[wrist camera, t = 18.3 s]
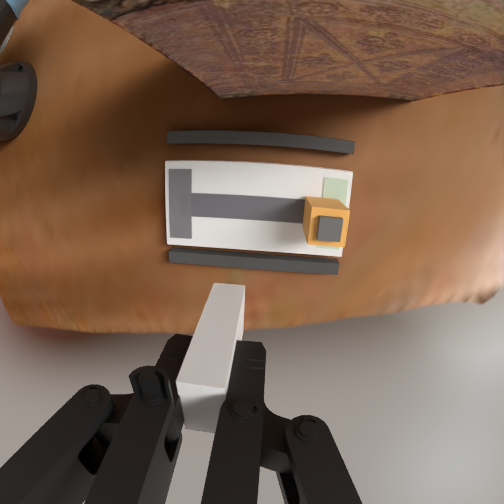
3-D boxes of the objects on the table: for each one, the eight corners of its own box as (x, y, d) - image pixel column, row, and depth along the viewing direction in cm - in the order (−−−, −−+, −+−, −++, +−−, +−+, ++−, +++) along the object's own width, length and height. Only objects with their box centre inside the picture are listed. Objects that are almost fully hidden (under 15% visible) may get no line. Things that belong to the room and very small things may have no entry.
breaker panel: (170, 160, 35) (164, 161, 34) (348, 170, 34) (353, 172, 32) (171, 239, 39) (167, 244, 38) (338, 251, 38) (341, 256, 36)
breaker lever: (305, 196, 34) (312, 208, 27) (337, 199, 34) (352, 212, 27) (302, 227, 35) (308, 247, 29) (333, 230, 35) (346, 250, 29)
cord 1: (171, 131, 34) (166, 131, 33) (351, 141, 33) (354, 141, 31) (170, 143, 35) (166, 143, 33) (350, 153, 34) (353, 154, 32)
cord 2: (172, 247, 40) (168, 251, 38) (337, 259, 39) (339, 263, 37) (172, 257, 41) (169, 262, 39) (335, 269, 39) (337, 274, 38)
